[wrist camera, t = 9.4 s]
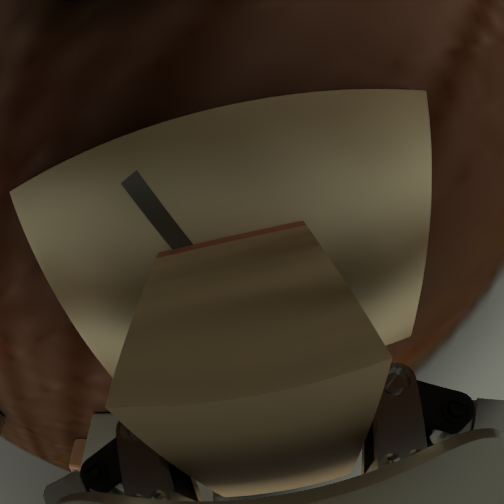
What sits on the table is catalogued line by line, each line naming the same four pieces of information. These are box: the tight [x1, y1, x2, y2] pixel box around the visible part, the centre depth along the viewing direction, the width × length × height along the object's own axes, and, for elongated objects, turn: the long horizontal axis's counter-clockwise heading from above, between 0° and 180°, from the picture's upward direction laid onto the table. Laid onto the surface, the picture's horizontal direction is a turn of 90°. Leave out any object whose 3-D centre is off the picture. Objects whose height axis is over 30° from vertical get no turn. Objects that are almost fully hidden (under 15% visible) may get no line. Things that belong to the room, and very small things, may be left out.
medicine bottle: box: [80, 413, 213, 501], centre depth 12 cm, size 7×7×12 cm
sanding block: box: [105, 221, 392, 497], centre depth 8 cm, size 8×5×6 cm, turn 11°
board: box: [10, 89, 432, 378], centre depth 10 cm, size 12×16×1 cm
